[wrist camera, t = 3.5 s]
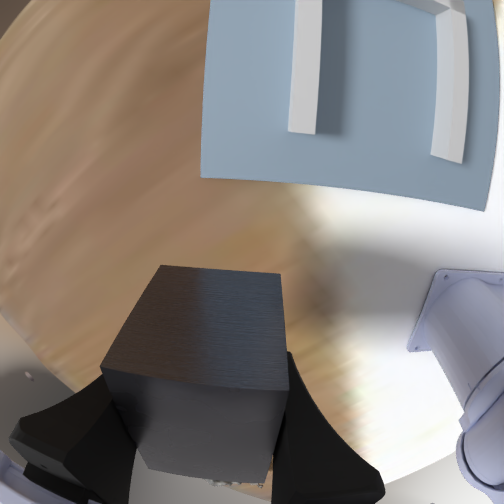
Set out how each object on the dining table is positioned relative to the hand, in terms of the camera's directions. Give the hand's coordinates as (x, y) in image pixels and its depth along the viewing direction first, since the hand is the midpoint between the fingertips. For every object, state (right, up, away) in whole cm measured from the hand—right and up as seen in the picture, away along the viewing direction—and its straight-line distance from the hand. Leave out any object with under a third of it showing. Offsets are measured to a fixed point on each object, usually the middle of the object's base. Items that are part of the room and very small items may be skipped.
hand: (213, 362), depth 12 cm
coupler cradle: (+9, +16, +2) cm, 18 cm away
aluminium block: (0, +1, +2) cm, 2 cm away
